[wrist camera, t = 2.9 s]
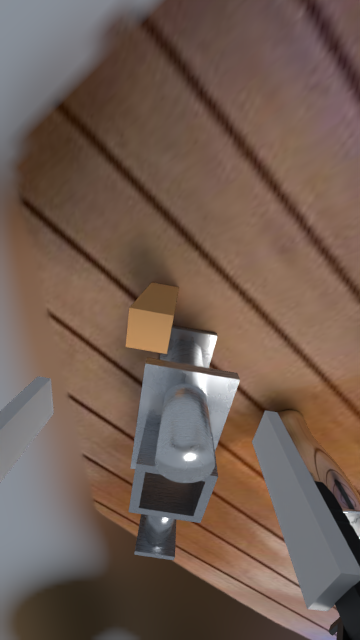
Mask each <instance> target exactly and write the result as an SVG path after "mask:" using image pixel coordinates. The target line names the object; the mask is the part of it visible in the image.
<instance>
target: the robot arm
mask: <svg viewBox="0 0 360 640" xmlns="http://www.w3.org/2000/svg"><path fill="white" fill-rule="evenodd" d="M52 415H53V399H52V387H51V379H50V378H44V377H37V378H36V379H35V380H33V381H32V382H31V383H30V384H29V385H28V386H27V387H26V388H25V389H24V390H23V391H21V392H20V393H19V394H18V395H17V396H16V397H15V398H14V399H13V400H12V401H11V402H10V403H8V404H7V405H6V406H5V407H4V408H3V409H2V410H1V411H0V483H1V482H2V480H3V479H4V478H5V476H6V475H7V474H8V472H9V471H10V470H11V468H12V467H13V466H14V464H15V463H16V462H17V461H18V459H19V458H20V457H21V455H22V454H23V453H24V451H25V450H26V449H27V447H28V446H29V445H30V443H31V442H32V441H33V440H34V438H35V437H36V436H37V434H38V433H39V432H40V430H41V429H42V428H43V427H44V425H45V424H46V423H47V421H48V420H49V419H50V417H51V416H52ZM252 443H253V446H254V449H255V452H256V455H257V458H258V461H259V464H260V467H261V470H262V473H263V476H264V479H265V482H266V485H267V488H268V491H269V494H270V497H271V500H272V503H273V506H274V509H275V512H276V515H277V518H278V521H279V524H280V527H281V530H282V533H283V536H284V539H285V543H286V546H287V549H288V552H289V555H290V558H291V561H292V564H293V567H294V570H295V573H296V576H297V579H298V582H299V585H300V588H301V591H302V594H303V597H304V600H305V603H306V606H307V609H313V610H321V611H328V610H329V609H331V608H332V607H333V606H334V605H336V608H337V610H338V612H339V615H340V617H339V618H338V619H337V620H336V621H335V622H334V623H333V624H332V625H331V626H330V629H329V633H330V634H331V635H334V634H335V633H336V632H337V640H360V539H359V537H358V535H357V533H356V532H355V530H354V528H353V527H352V525H350V521H349V520H348V518H347V516H346V515H345V513H343V509H342V508H341V506H340V504H339V503H338V501H337V499H336V497H335V496H334V494H333V493H332V492H331V491H330V490H329V489H328V488H327V486H326V485H325V484H324V483H323V482H318V481H314V480H313V479H312V477H311V475H310V473H309V471H308V469H307V467H306V465H305V464H304V462H303V460H302V458H301V456H300V454H299V452H298V450H297V449H296V447H295V445H294V443H293V441H292V439H291V437H290V435H289V434H288V432H287V430H286V428H285V426H284V424H283V422H282V420H281V419H280V417H279V415H278V413H277V412H272V411H265V412H264V415H263V417H262V419H261V422H260V424H259V427H258V429H257V432H256V434H255V436H254V439H253V441H252Z"/></svg>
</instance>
